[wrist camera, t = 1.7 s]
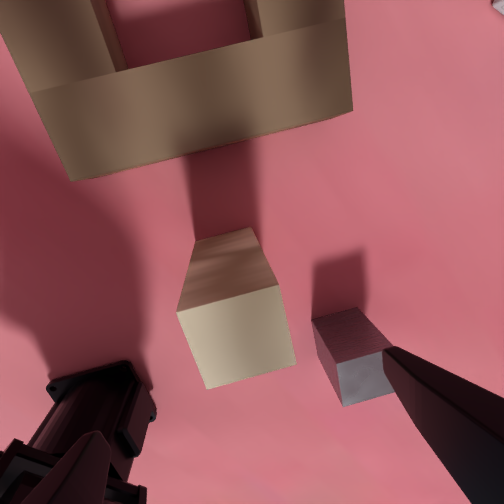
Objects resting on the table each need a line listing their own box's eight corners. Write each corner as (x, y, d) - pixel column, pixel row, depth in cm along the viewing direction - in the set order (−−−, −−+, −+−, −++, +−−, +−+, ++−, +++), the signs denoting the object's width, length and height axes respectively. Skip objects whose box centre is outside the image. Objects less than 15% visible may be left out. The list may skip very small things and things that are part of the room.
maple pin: (211, 290, 20) (207, 389, 11) (195, 241, 18) (176, 312, 10) (263, 276, 20) (296, 364, 11) (250, 226, 18) (278, 284, 10)
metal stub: (317, 356, 23) (343, 407, 18) (310, 319, 22) (336, 364, 17) (361, 344, 23) (397, 391, 19) (357, 306, 22) (394, 347, 17)
